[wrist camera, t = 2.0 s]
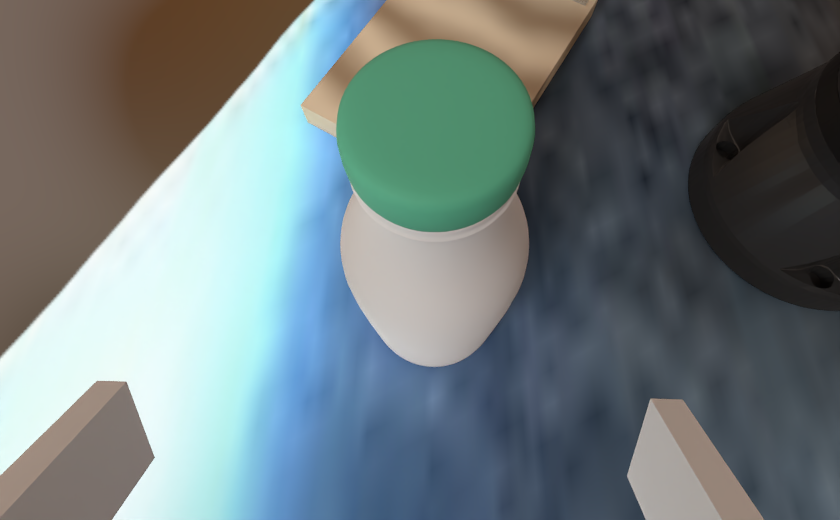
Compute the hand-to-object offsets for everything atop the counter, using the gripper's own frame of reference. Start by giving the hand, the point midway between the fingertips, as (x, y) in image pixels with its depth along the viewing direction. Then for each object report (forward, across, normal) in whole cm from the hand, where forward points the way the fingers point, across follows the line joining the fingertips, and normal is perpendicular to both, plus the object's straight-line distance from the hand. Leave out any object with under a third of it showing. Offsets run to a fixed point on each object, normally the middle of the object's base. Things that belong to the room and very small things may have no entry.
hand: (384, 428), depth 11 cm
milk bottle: (+16, +1, -7) cm, 18 cm away
